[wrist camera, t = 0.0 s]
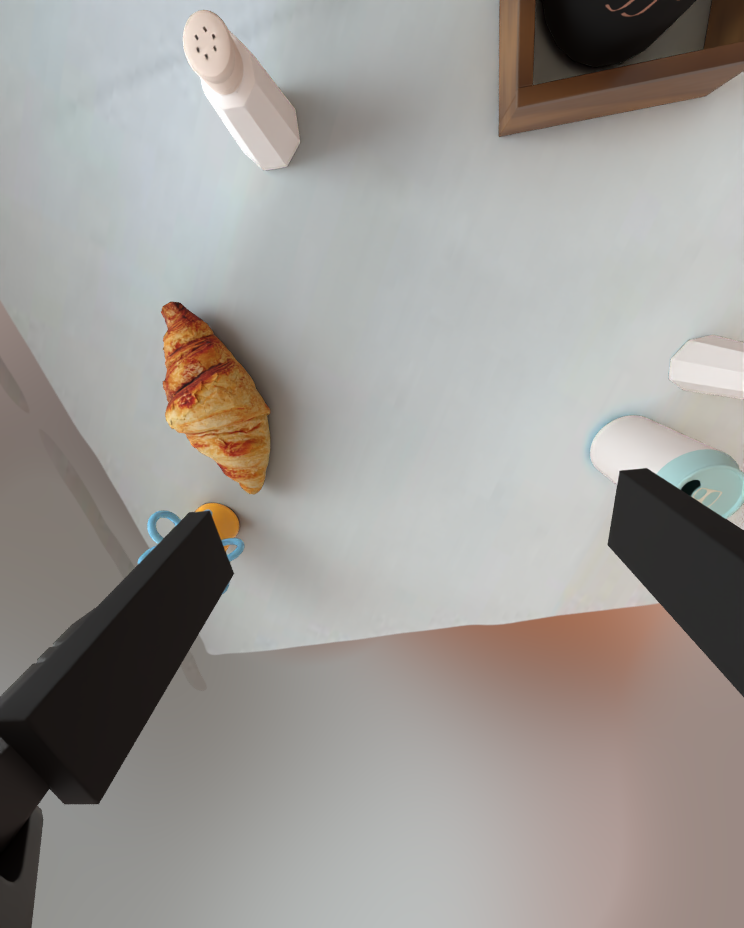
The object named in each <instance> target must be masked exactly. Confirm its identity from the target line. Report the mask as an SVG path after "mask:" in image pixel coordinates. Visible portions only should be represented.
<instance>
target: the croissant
mask: <svg viewBox="0 0 744 928" xmlns="http://www.w3.org/2000/svg"><path fill="white" fill-rule="evenodd" d="M161 313H162V315H163V317H164V318H165V322H166V324H167V327H168V330H167V332H166V334H165V335H164V338H163V342H164V348H163V350H164V353H165V359H166V362H165V365H166V368H167V374H166V379H165V381H163V388H164V390H165V391H166V396H167V400H168V402H169V403H168V406H167V409H166V413H165V416H166V421H167V422H168V424H169V426H170V427H171V428H172V429H175V430H176V431H177V432H179V433H185V434H186V436H187V438H188V440H189V441H190V443H191V445H192V446H193V447H194V448H197V449H198V451H199V452H200V453H202V454H204V455H206V456H208V457H211V458H212V459H213V460H214V461H216V462H217V464H218V465H219V467H220V468H221V469H222V471H223V473H224V474H225V475H226V476H228V477H230V478H231V479H233V480H234V481H236V482H239V484H240V486H241V487H242V489H243V490H245V491H246V492H247V493H249V494H253V495H254V494H256V493H258V492H259V491H260V490H261V488H262V486H263V484H264V481H265V474H266V468H267V465H268V462H269V453H270V433H269V425H268V418H267V415H269V414H270V409H269V407H268V406H267V405H266V403H265V402H264V400H263V398H262V396H261V395H260V394H259V392H258V391H257V390H256V387H255V383H254V382H253V380H252V378H251V377H250V376H249V374H248V373H247V371H246V370H245V369H244V368H243V366H242V365H241V364H240V363H239V362H238V361H237V360H236V359H235V358H234V356H233V355H232V353H231V352H230V351H229V350H228V349H227V348H226V347H225V345H224V344H223V343H222V342H221V341H220V340H219V339H218V338H217V337H216V336H215V335H214V334H213V331H212V330H211V328H210V327H209V326H208V324H207V323H205V322H204V321H203V320H201V319H200V318H199V317H197V316H196V315H195V314H193V313H192V312H190V311H189V310H188V309H186V308H185V307H184V306H183V305H182V304H181V303H179V302H169V303H168V304H166V305H164V306H163V308H162V311H161Z"/></svg>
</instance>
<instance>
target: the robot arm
mask: <svg viewBox="0 0 744 928" xmlns="http://www.w3.org/2000/svg"><path fill="white" fill-rule="evenodd" d="M608 546H609V547H610V548H611V549H612V550H613V551H614V553H615V554H616V555H617V556H618V557H619V558H620V559H621V560H622V562H623V563H624V564H625V565H626V566H627V567H628V568H629V569H630V570H631V572H632V573H633V574H634V575H635V576H636V577H637V578H638V579H639V581H640V582H641V583H642V584H643V585H644V586H645V587H646V588H647V590H648V591H649V592H650V593H651V594H652V595H653V596H654V597H655V598H656V600H657V601H658V602H659V603H660V604H661V605H662V606H663V607H664V608H665V610H666V611H667V612H668V613H669V614H670V615H671V616H672V617H673V619H674V620H675V621H676V622H677V623H678V624H679V625H680V626H681V627H682V629H683V630H684V631H685V632H686V633H687V634H688V635H689V636H690V638H691V639H692V640H693V641H694V642H695V643H696V644H697V645H698V647H699V648H700V649H701V650H702V651H703V652H704V653H705V654H706V655H707V656H708V658H709V659H710V660H711V661H712V662H713V663H714V664H715V665H716V666H717V668H718V669H719V670H720V671H721V672H722V673H723V674H724V676H725V677H726V678H727V679H728V680H729V681H730V682H731V683H732V684H733V686H734V687H735V688H736V689H737V690H738V691H739V692H740V693H741V694H742V696H743V697H744V530H742V529H741V528H739V527H738V526H736V525H735V524H733V523H731V522H730V521H728V520H727V519H725V518H724V517H722V516H721V515H719V514H717V513H716V512H714V511H713V510H711V509H710V508H708V507H707V506H705V505H703V504H702V503H700V502H699V501H697V500H696V499H694V498H693V497H691V496H689V495H688V494H686V493H685V492H683V491H682V490H680V489H679V488H677V487H676V486H674V485H672V484H671V483H669V482H668V481H666V480H665V479H663V478H662V477H660V476H658V475H657V474H655V473H654V472H652V471H651V470H649V469H648V468H642V469H631V470H621V471H619V477H618V483H617V490H616V496H615V502H614V508H613V515H612V521H611V527H610V533H609V540H608ZM233 575H234V572H233V570H232V567H231V565H230V562H229V559H228V557H227V554H226V551H225V549H224V546H223V544H222V541H221V538H220V536H219V533H218V530H217V528H216V525H215V523H214V520H213V517H212V515H211V512H210V511H201V512H190V513H188V514H187V515H186V516H185V517H184V518H183V519H182V520H181V521H180V522H179V523H178V524H177V525H176V526H175V527H174V528H173V529H172V530H171V532H170V533H169V534H168V535H167V536H166V537H165V538H164V539H163V540H162V541H161V542H160V543H159V544H158V545H157V546H156V547H155V548H154V549H153V550H152V551H151V552H150V553H149V554H148V555H147V556H146V557H145V558H144V559H143V560H142V561H141V562H140V563H139V564H138V565H137V566H136V567H135V568H134V569H133V570H132V572H131V573H130V574H129V575H128V576H127V577H126V578H125V579H124V580H123V581H122V582H121V583H120V584H119V585H118V586H117V587H116V588H115V589H114V590H113V591H112V592H111V593H110V594H109V595H108V596H107V597H106V598H105V599H104V600H103V601H102V602H101V603H100V604H99V606H97V607H96V608H94V609H93V610H92V611H90V612H89V613H87V614H86V615H85V616H83V617H82V618H81V619H79V620H78V621H76V622H75V623H74V624H72V625H71V626H70V627H69V628H68V629H67V630H66V631H65V632H64V633H63V634H62V635H61V636H60V637H59V638H58V639H57V640H56V641H55V642H54V643H53V647H50V648H48V649H47V650H46V651H45V652H44V653H43V654H42V655H41V656H40V657H39V658H38V659H37V663H36V664H32V665H31V666H30V667H29V668H28V669H27V670H26V671H25V672H24V673H23V674H22V675H21V676H20V677H19V678H18V679H17V680H16V681H15V682H14V683H13V684H12V685H11V686H10V687H9V688H8V689H7V690H6V691H5V692H4V693H3V694H2V696H0V928H31V926H32V917H33V908H34V898H35V889H36V881H37V872H38V863H39V854H40V845H41V836H42V827H43V815H42V810H41V809H40V808H39V807H38V806H37V805H38V804H39V803H40V801H41V800H42V798H43V797H44V795H45V794H46V793H47V791H48V790H49V789H50V790H51V791H52V792H53V793H54V794H55V795H56V796H57V797H58V798H59V799H60V800H61V801H62V802H63V803H64V804H99V803H100V801H101V799H102V798H103V796H104V794H105V793H106V791H107V789H108V787H109V786H110V784H111V782H112V781H113V779H114V777H115V775H116V774H117V772H118V770H119V769H120V767H121V765H122V764H123V762H124V760H125V758H126V757H127V755H128V753H129V752H130V750H131V748H132V747H133V745H134V743H135V741H136V740H137V738H138V736H139V735H140V733H141V731H142V730H143V727H144V726H145V724H146V723H147V721H148V719H149V718H150V716H151V714H152V712H153V711H154V709H155V707H156V706H157V704H158V702H159V700H160V699H161V697H162V695H163V694H164V692H165V690H166V689H167V687H168V685H169V684H170V682H171V680H172V678H173V677H174V675H175V673H176V672H177V670H178V668H179V667H180V665H181V663H182V661H183V660H184V658H185V656H186V655H187V653H188V651H189V649H190V648H191V646H192V644H193V642H194V641H195V639H196V638H197V636H198V634H199V632H200V631H201V629H202V627H203V626H204V624H205V622H206V621H207V619H208V617H209V615H210V614H211V612H212V610H213V609H214V607H215V605H216V603H217V602H218V600H219V598H220V597H221V595H222V593H223V592H224V590H225V588H226V586H227V585H228V583H229V581H230V580H231V578H232V576H233Z"/></svg>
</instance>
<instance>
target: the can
mask: <svg viewBox="0 0 744 928" xmlns="http://www.w3.org/2000/svg"><path fill="white" fill-rule="evenodd" d="M590 458H591V461H592V463H593V465H594V466H595V468H596V469H597V470H599V471H600V472H601V473H602V474H604V475H605V476H606V477H607V478H609V479H610V480H611V481H612V482H614V483H615V484H616V485H617V483H618V477H619V471H621V470H631V469H642V468H648V469H649V470H651V471H652V472H654V473H655V474H657V475H658V476H660V477H662V478H663V479H665V480H666V481H668V482H669V483H671V484H672V485H674V486H676V487H677V488H679V489H680V490H682V491H683V492H685V493H686V494H688V495H689V496H691V497H693V498H694V499H696V500H697V501H699V502H700V503H702V504H703V505H705V506H707V507H708V508H710V509H711V510H713V511H714V512H716V513H717V514H719V515H721V516H722V517H724V518H725V519H727V518H729V517H730V516H731V515H733V514H734V513H735V512H736V511H737V510H738V509H739V508H740V507H741V506H742V504H743V503H744V473H743V472H742V471H741V470H740V469H739V466H738V464H737V463H736V461H735V460H734V459H733V458H732V457H731V456H729V455H728V454H726V453H724V452H722V451H720V450H717V449H715V448H713V447H711V446H708V445H706V444H704V443H702V442H699V441H697V440H695V439H693V438H691V437H688V436H686V435H684V434H682V433H679V432H677V431H675V430H673V429H670V428H668V427H666V426H664V425H661V424H659V423H657V422H655V421H652V420H650V419H648V418H646V417H643V416H637V415H630V416H624V417H621V418H618V419H615V420H613V421H612V422H610V423H608V424H607V425H606V426H604V427H603V428H602V429H601V430H600V431H599V432H598V434H597V435H596V436H595V438H594V440H593V442H592V445H591V448H590Z"/></svg>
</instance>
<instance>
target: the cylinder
mask: <svg viewBox="0 0 744 928" xmlns="http://www.w3.org/2000/svg"><path fill="white" fill-rule="evenodd" d="M201 511H210V512H211V515H212V517H213V520H214V523H215V525H216V528H217V530H218V533H219V536H220V538H221V541H222V544H223V546H224V549H225V551H226V550H227V549H228V547H229V546H230V545H237V548H236V549H235V550H234V551H233V552H232V553H230V554H228V555H227V557H228V559H229V562H230V561H232V560H234V559H235V558H237V557H238V556H239V555H240V554H241V553H242V552H243V550H244V542H243V541H242V540H241V539H238V538H235V537H236V535H237V534H238V532H239V520H238V518H237V516H236V515H235V513H234V512H233V511H232V510H231V509H229V508H228V507H226V506H224V505H221V504H218V503H208V504H204V505H202V506H200V507H199V508H198V509H197V510H196V511H195V512H201ZM159 518H168V519H170V520H171V521H172V522H173V523H174V524H175V526H176V525H177V524H178V523H179V522H180V521H181V520H180V518H179V517H178V516H177V515H175V514H174V513H172V512H169V511H158V512H155V513H154V514H153V515H152V516H151V517H150V518H149V520H148V525H147V527H148V532H149V535H150V536H151V538H152V539H153V540H154V541H155V542H156V543H157V544H159V543H160V542H161V541H162V540H163V539H164V538H163V537H162V536H161V535H160V534H159V533H158V531H157V529H156V522H157V520H158V519H159ZM156 546H157V545H156ZM156 546H154V547H152V548H150V549H149V550H147V551H146V552H144V553H143V554H142V555H141V556H140V558H139V560H138V564H139V563H140V562H141V561H142V560H143V559H144V558H145V557H146V556H147V555H148V554H149V553H150V552H151V551H152V550H153V549H154V548H155V547H156ZM229 583H230V581H229ZM229 583H228V585H227V586H226V588H225V590H224V592H223V593H222V594H224V593H225V592H226V591H227V589H228V587H229Z"/></svg>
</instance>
